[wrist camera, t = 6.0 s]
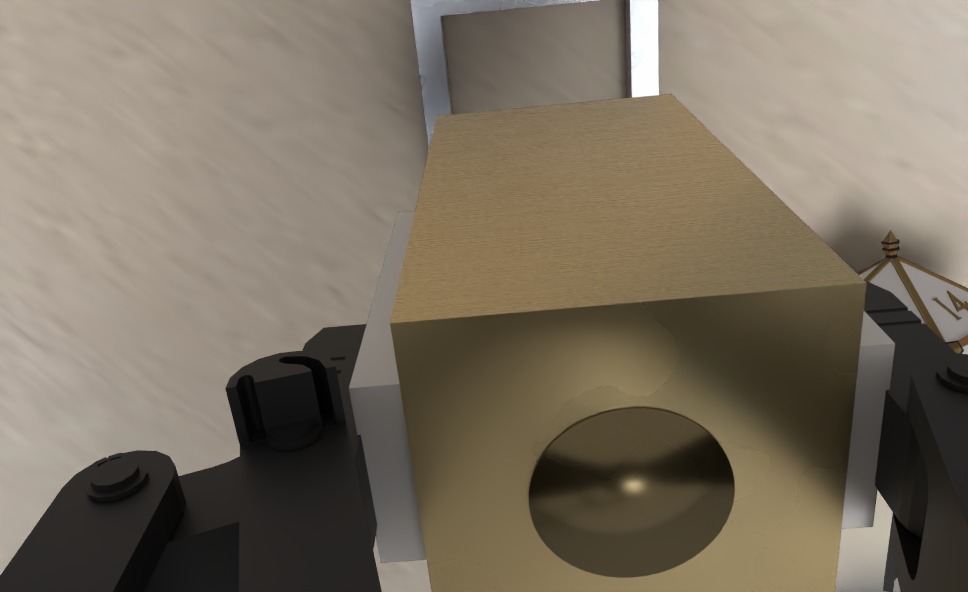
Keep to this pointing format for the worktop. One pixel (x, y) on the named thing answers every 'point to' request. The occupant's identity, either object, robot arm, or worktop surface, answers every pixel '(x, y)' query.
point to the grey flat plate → (434, 3)
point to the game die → (924, 294)
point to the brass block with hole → (620, 360)
